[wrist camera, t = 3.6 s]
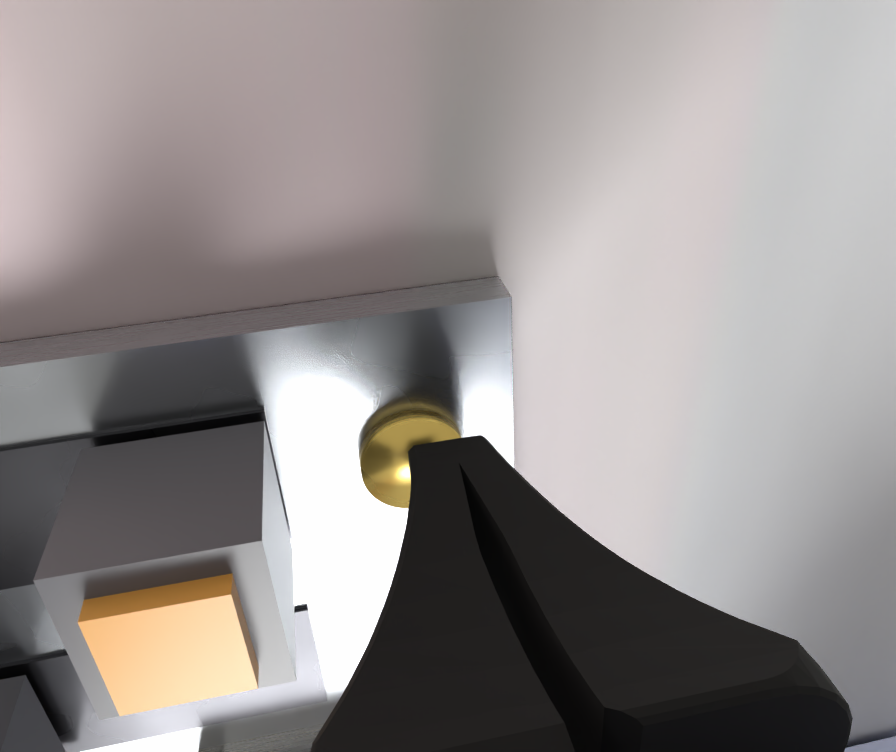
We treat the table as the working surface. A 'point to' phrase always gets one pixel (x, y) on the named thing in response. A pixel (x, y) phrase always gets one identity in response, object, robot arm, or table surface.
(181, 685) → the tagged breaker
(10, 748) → the block
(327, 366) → the panel
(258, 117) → the table surface
